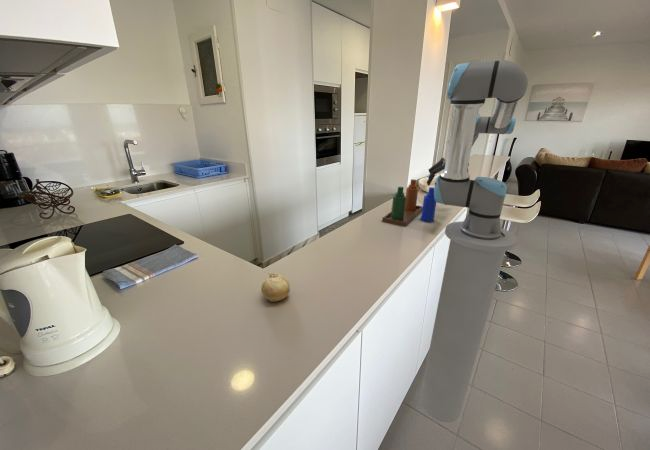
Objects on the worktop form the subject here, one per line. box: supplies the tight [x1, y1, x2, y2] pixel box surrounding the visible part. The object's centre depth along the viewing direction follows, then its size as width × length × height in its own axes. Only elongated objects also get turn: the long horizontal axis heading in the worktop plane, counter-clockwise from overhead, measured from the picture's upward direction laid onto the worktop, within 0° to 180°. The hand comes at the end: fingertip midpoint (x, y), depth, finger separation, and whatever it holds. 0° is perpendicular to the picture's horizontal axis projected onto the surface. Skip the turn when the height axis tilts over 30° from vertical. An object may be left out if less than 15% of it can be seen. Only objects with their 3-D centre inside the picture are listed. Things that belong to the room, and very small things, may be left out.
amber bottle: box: [405, 178, 419, 211], centre depth 149 cm, size 6×6×16 cm
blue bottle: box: [420, 186, 437, 223], centre depth 135 cm, size 6×6×16 cm
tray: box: [381, 204, 423, 227], centre depth 144 cm, size 12×30×2 cm, turn 146°
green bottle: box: [391, 186, 406, 221], centre depth 133 cm, size 6×6×16 cm
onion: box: [260, 272, 291, 303], centre depth 77 cm, size 8×8×7 cm
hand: (440, 186), depth 138 cm, fingers open, 13 cm apart
